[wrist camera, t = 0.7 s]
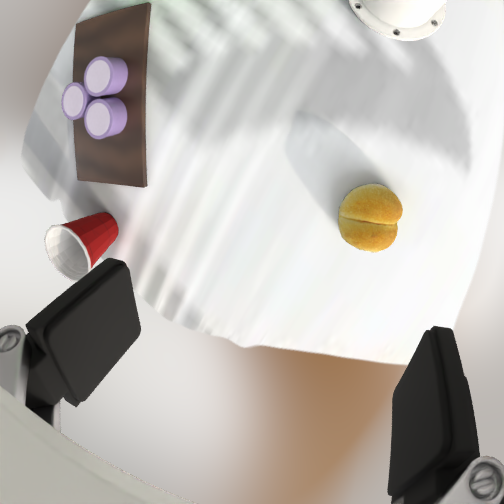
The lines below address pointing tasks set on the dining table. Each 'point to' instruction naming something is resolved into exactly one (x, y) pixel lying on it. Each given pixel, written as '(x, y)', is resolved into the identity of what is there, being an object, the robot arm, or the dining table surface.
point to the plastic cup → (80, 244)
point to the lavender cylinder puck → (76, 100)
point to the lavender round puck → (105, 117)
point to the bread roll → (370, 217)
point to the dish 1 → (105, 76)
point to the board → (132, 95)
